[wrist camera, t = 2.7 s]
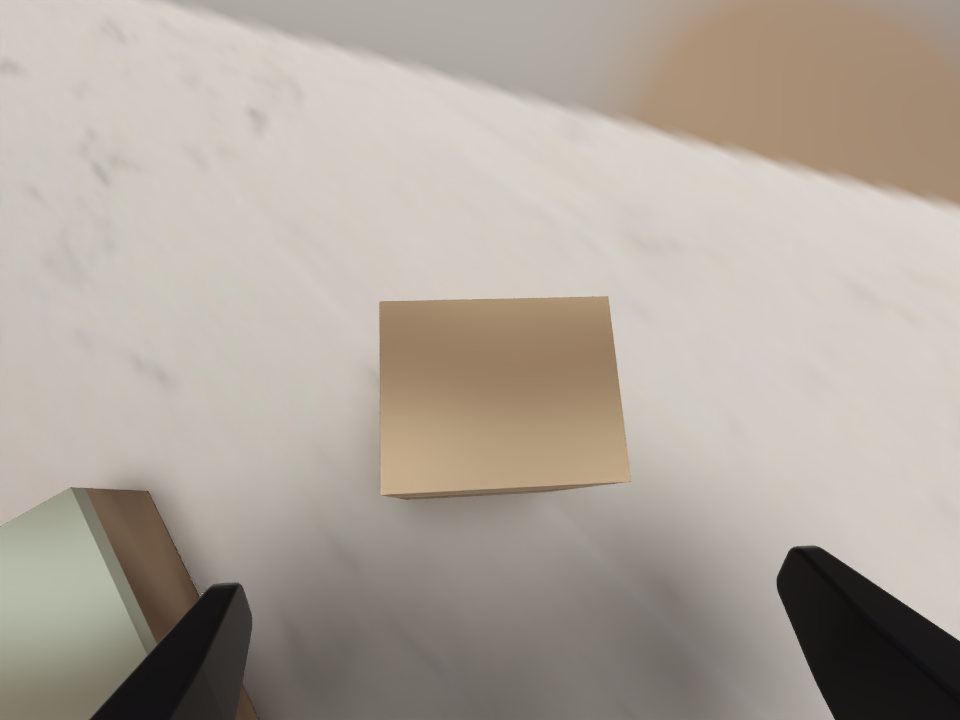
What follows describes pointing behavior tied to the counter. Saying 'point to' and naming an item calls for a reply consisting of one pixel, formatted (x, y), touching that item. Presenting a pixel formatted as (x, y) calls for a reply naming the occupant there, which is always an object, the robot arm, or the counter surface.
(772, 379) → the counter surface
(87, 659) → the base brick
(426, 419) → the top brick
